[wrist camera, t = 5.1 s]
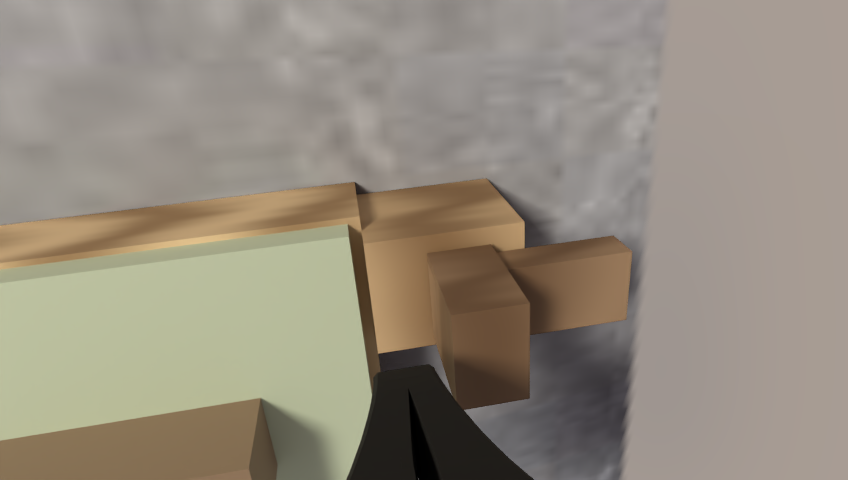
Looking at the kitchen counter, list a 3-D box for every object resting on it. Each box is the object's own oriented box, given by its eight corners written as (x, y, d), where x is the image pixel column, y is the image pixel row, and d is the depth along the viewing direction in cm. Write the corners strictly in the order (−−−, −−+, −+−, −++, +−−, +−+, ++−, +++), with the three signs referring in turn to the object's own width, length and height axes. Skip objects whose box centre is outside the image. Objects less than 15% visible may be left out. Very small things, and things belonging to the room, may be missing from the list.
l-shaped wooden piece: (614, 227, 17) (679, 280, 14) (607, 308, 19) (667, 374, 15) (426, 253, 17) (451, 315, 13) (433, 335, 18) (457, 410, 15)
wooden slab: (486, 165, 21) (524, 206, 17) (493, 411, 26) (524, 488, 22) (-121, 240, 18) (-248, 309, 14) (16, 494, 23) (-49, 599, 19)
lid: (347, 223, 17) (352, 284, 14) (386, 490, 22) (397, 587, 18) (-194, 295, 15) (-354, 386, 12) (-23, 566, 20) (-99, 691, 17)
